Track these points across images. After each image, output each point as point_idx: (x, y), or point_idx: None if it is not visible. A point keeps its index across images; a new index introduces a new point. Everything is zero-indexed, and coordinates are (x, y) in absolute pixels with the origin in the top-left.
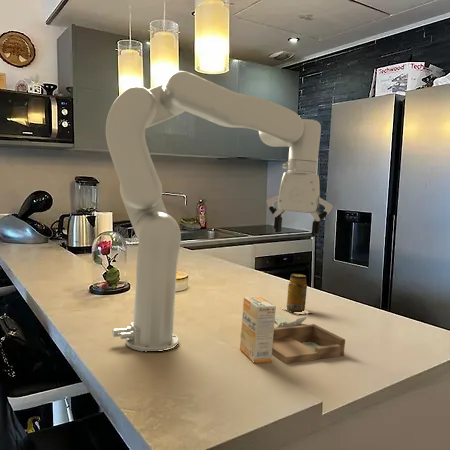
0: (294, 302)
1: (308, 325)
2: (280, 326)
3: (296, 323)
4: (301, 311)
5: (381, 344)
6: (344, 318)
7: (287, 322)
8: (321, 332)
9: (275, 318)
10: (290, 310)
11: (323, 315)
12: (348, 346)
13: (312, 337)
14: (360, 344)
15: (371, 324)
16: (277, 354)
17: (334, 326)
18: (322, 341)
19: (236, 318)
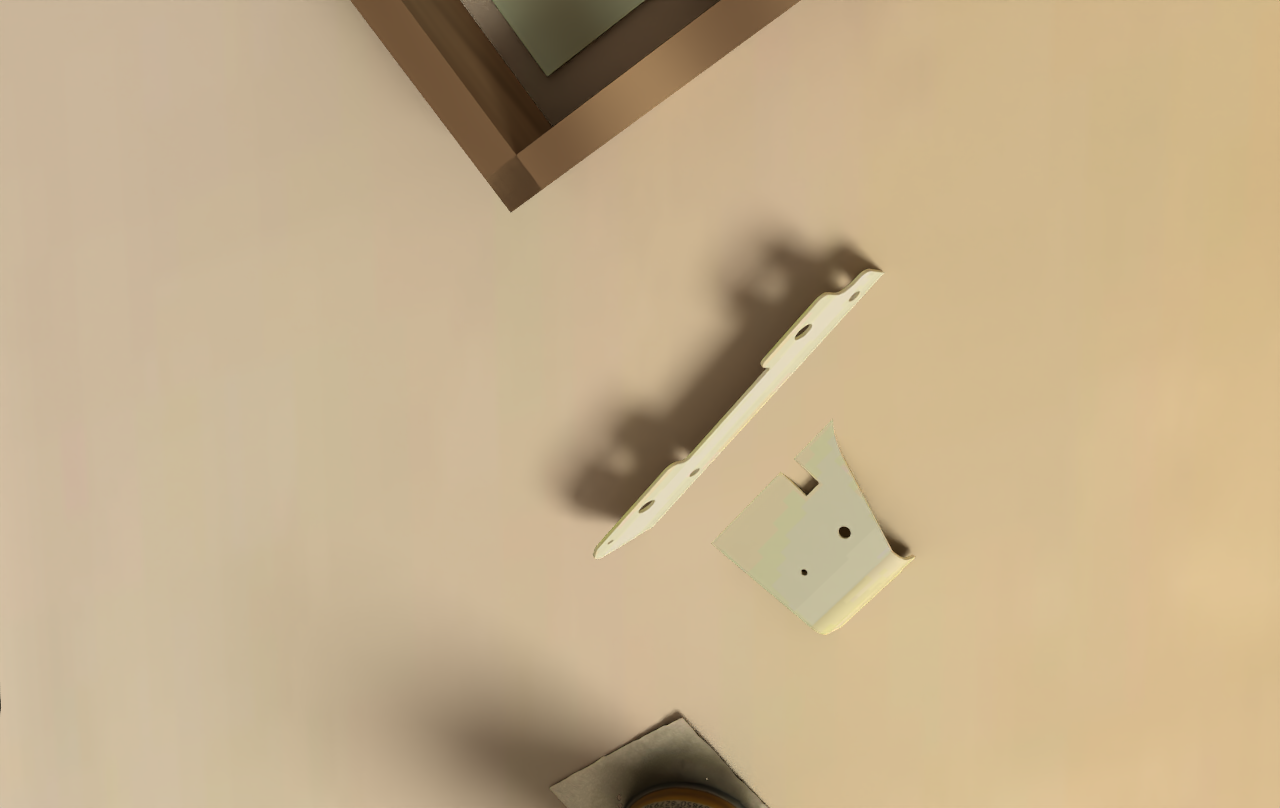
0: None
1: (560, 154)
2: (819, 318)
3: (680, 480)
4: (642, 798)
5: (61, 231)
6: (329, 733)
7: (756, 520)
8: (448, 49)
9: (861, 539)
10: (730, 803)
11: (477, 765)
12: (276, 95)
13: (544, 131)
14: (196, 177)
15: (148, 650)
16: None
17: (392, 535)
18: (458, 21)
19: (1226, 512)
